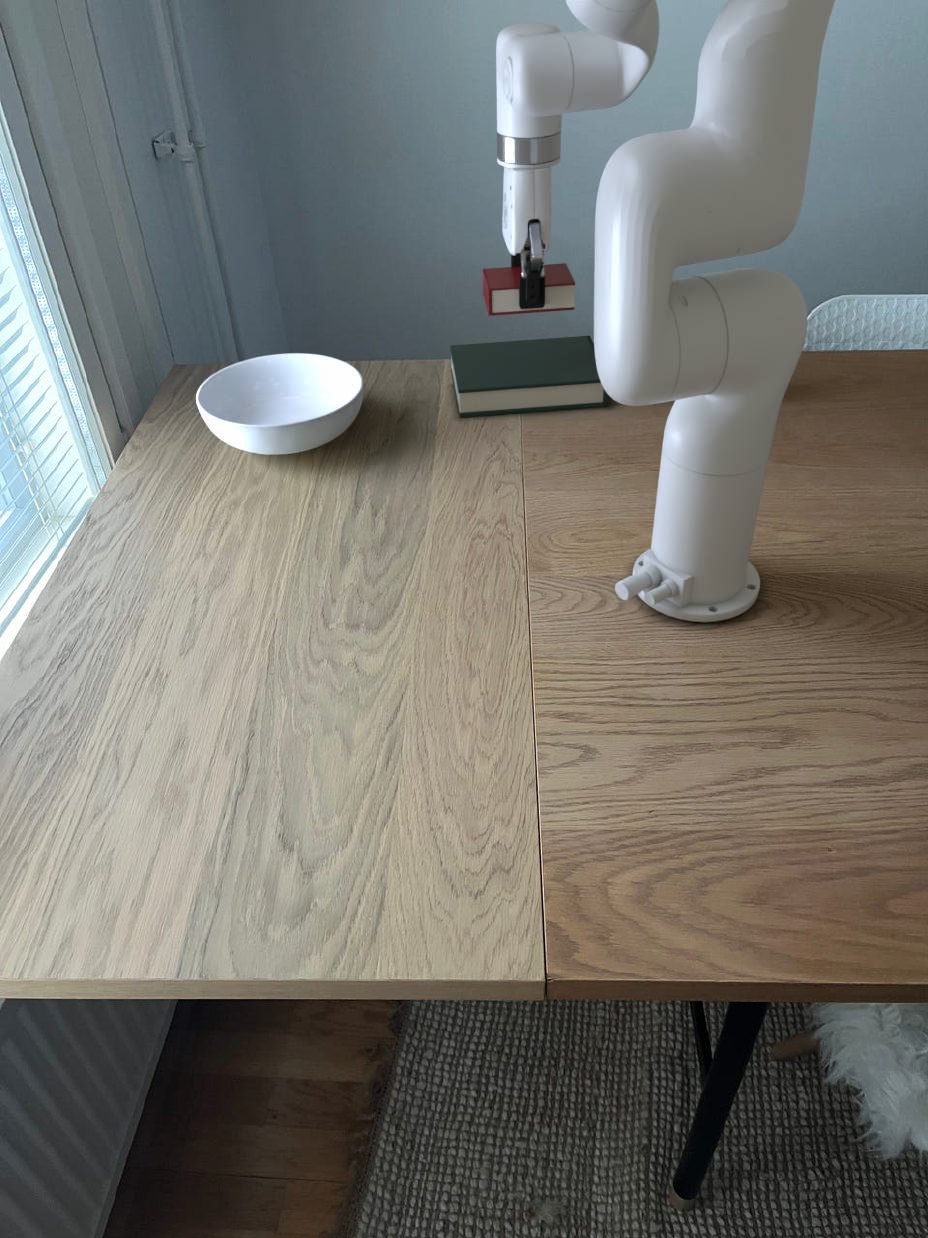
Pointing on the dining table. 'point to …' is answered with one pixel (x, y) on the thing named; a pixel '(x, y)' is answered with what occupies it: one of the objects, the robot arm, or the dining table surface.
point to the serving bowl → (281, 402)
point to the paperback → (505, 290)
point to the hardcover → (526, 376)
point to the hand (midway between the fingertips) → (527, 294)
